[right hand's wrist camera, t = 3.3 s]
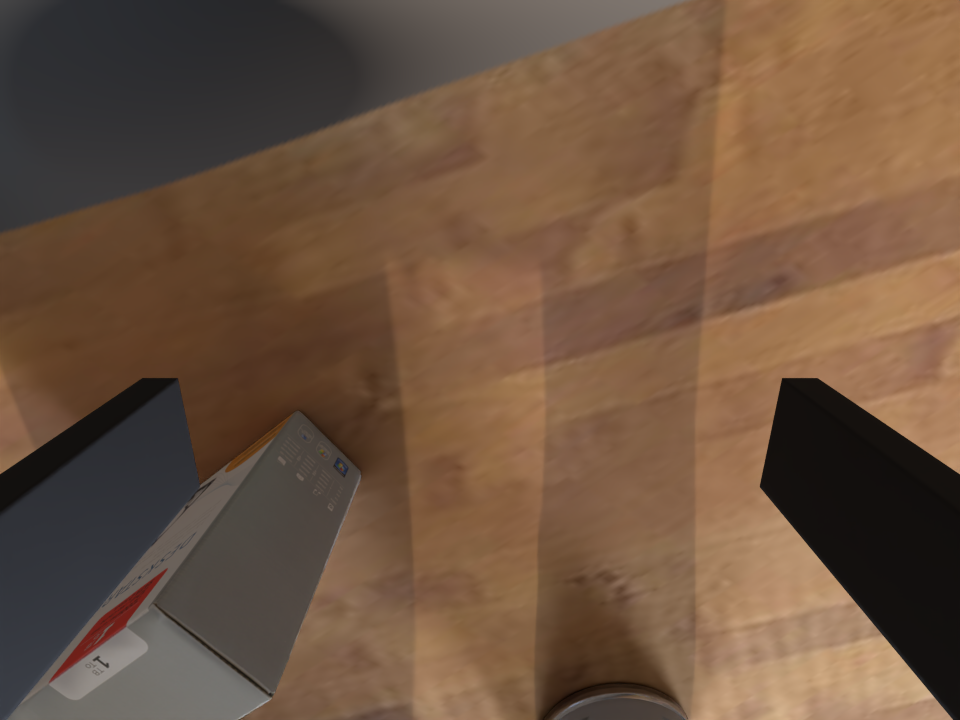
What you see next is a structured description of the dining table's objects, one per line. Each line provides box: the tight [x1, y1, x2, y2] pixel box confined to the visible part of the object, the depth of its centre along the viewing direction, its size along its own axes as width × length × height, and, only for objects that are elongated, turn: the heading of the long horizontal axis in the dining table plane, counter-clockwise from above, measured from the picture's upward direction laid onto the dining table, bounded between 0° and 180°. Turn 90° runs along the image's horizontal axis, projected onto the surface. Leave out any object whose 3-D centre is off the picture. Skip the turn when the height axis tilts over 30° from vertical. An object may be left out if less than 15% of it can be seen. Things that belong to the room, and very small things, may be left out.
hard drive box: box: [7, 411, 361, 720], centre depth 36 cm, size 16×8×20 cm, turn 128°
